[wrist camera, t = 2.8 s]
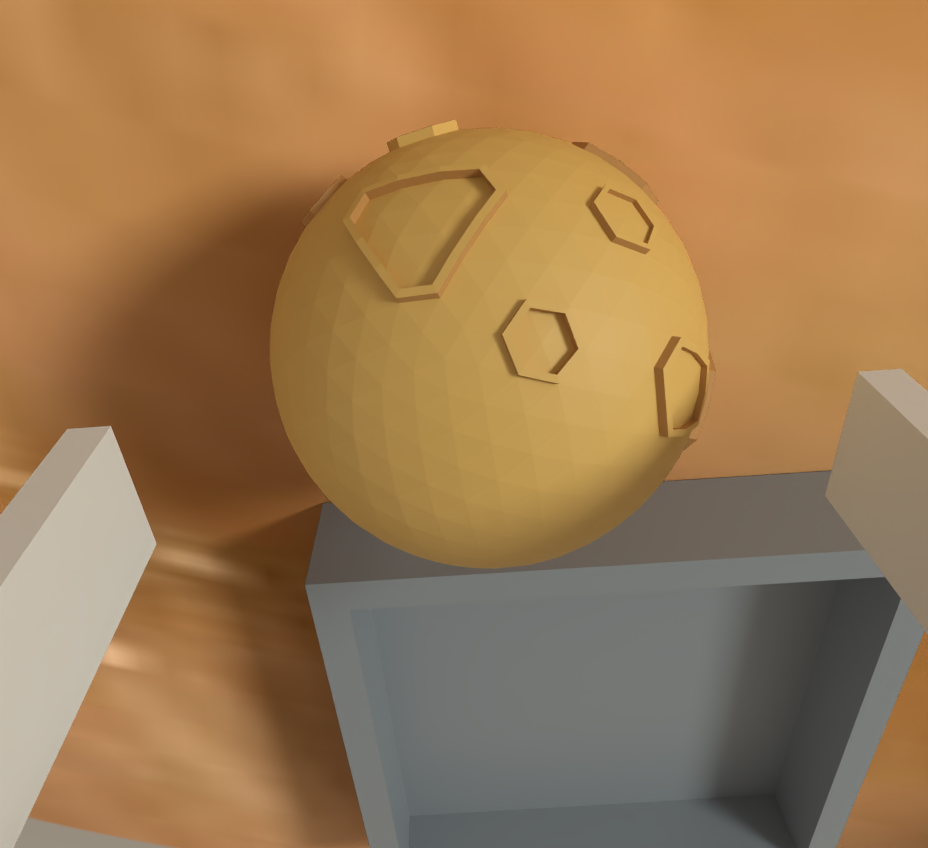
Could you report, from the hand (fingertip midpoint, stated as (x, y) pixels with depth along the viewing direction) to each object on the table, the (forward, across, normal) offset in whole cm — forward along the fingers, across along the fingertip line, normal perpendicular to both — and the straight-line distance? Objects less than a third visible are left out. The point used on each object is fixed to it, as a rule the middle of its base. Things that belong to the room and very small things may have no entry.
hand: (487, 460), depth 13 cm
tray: (+9, -4, +18) cm, 21 cm away
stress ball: (+10, 0, 0) cm, 10 cm away
